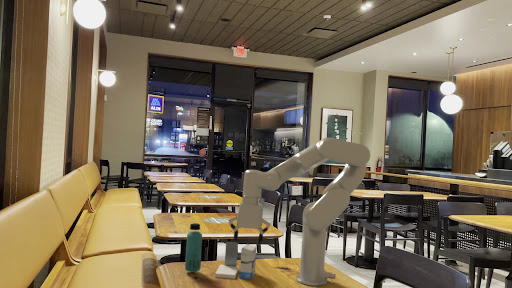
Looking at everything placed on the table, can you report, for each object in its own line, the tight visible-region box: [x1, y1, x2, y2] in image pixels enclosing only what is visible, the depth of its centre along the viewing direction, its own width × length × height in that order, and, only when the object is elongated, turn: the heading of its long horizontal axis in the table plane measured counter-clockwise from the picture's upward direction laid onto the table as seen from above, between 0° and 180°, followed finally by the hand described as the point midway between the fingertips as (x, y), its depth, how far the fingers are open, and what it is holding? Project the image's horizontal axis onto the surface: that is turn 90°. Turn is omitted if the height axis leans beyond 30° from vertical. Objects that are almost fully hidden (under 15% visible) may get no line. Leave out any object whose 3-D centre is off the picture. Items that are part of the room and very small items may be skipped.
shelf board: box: [214, 264, 240, 280], centre depth 162 cm, size 8×12×2 cm
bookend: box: [224, 241, 239, 267], centre depth 167 cm, size 5×1×10 cm, turn 85°
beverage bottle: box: [184, 223, 203, 273], centre depth 160 cm, size 6×7×20 cm
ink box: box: [239, 244, 258, 280], centre depth 160 cm, size 8×5×12 cm, turn 169°
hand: (247, 241), depth 160 cm, fingers open, 9 cm apart
